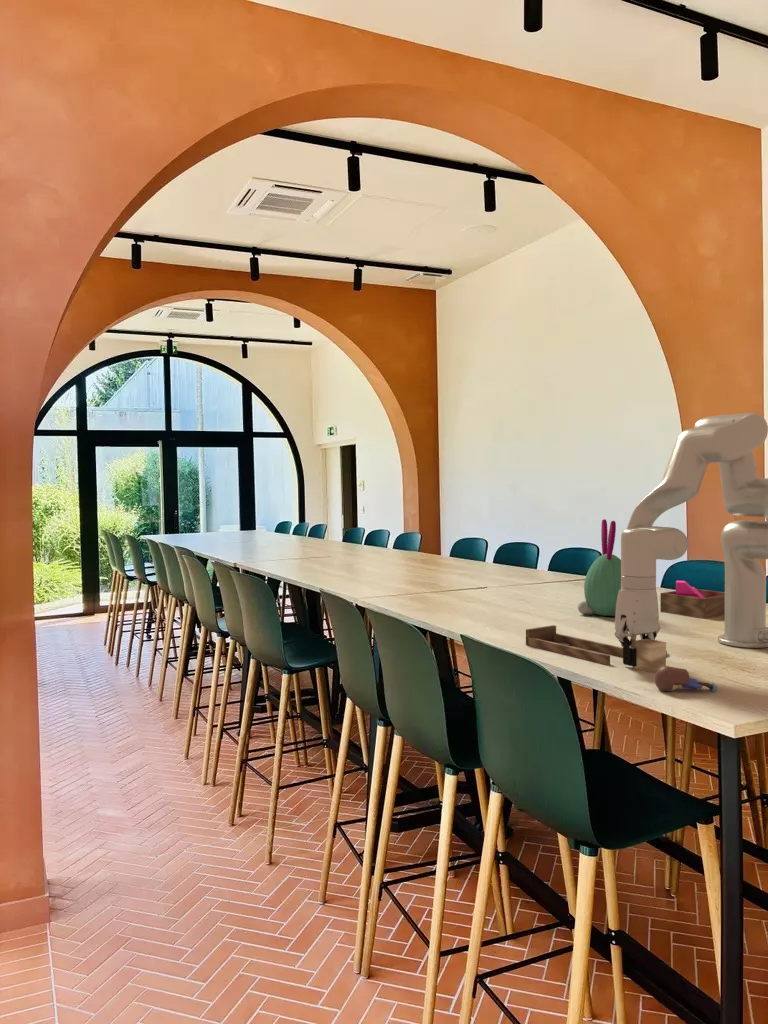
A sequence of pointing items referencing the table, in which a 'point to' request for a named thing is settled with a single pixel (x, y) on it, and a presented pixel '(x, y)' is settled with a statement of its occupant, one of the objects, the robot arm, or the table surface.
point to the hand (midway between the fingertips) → (637, 662)
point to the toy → (603, 578)
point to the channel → (563, 643)
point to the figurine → (678, 680)
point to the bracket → (687, 590)
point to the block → (650, 654)
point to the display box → (694, 604)
